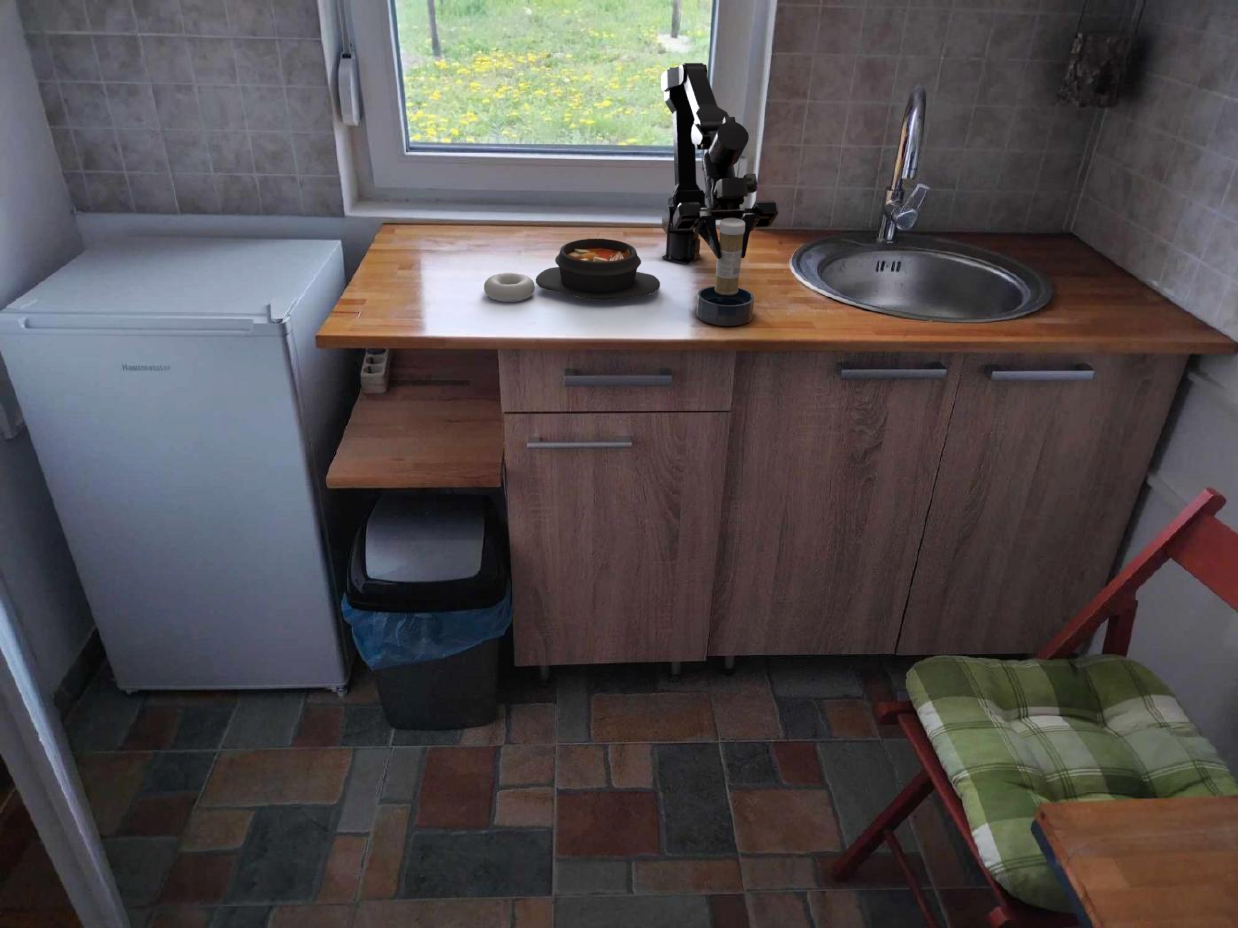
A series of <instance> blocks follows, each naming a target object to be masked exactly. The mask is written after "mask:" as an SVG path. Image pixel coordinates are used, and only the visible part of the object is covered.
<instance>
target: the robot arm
mask: <svg viewBox="0 0 1238 928" xmlns="http://www.w3.org/2000/svg"><path fill="white" fill-rule="evenodd" d="M712 88H713V87H712V86H711V83H710V80H709V76H708V65H707V64H705V63H703V62H684V63H683V64H680V65H678V66H675V67H667V69H666V70H665V71H663V72H662V74H661V77H660V89H661V92H663V101H664V103H665V105H666V107H667V109H669V111H670V113H671V115H672V137H673V167H674V187H673V189H672V191H671V193H670V194H669V196H668V198H667V206H666V207H665V209H664V212H663V215H662V217H661V228H662V230H663V231H664V233H665V234H666V245H665V254H664V255H662V256H661V259H662V260H665V261H670V262H674V263H678V264H679V263H680V264H684V265H690V264H691V263H693V262H694V261H696V260H698V259H700V258H701V254H700V249H701V239H702V240H703V241H704V242H705V243H706V244H707V246H708V247H709V249H710V250H711V252H712V253H713V254H714V256H715V257H716V260H717V259H720V258H721V249H720V244H719V236H718V231H717V221H721V220H723V219H726V218H736V219H740V220H743V221H744V222H745V232H744V235H743V242H742V257H741V259H745V257H746V255H747V248H748V244H749V240H750V239H749V238H750V234H751V232H753V231H754V229H757V228H758V229H760V228H763V229H764V228H769V227H771V226H772V224H773V223H774V221H775V220H776V218H777V216H778V215H779V213H780V212H779V205H778V204H777V202H776V201H774V199H772V200H768V199H767V200H755V201H754V203H753V204H752V206H751V207H747V208H741V205H744V203H745V197H746V198H747V197H749V194H753V193H756V192H757V191H758V179H757V174H756V173H746V174H744V175H743V176H742V177H738V176H736V171H735V165H736V164H737V163H738V162H739V160H740V159H741V157H742V153H743V152H744V150H745V148H746V147H747V144H748V143H749V140H750V139H749V137H750V136H749V132H748V131H747V129H746V128H745V127H744V125H742V124H741V123H739V122H736V117H735V116H730V115H729V113H728V112H727V111H726V110H724V109H722V108H721V107H719V106H718V103H717V100H716V97H715V94H714V92H713V89H712ZM697 150H698V151H706V152H705V153H704V154H703V156H702V158H701V170H702V171H703V172H702V173H703V179H704V186H705V191H704V190H703V189H701V188H700V186H699V185H698V183H697V182H698V181H697V155H696V153H697V152H696V151H697ZM706 199H707V200H706ZM706 201H707V204H706ZM699 236H700V237H701V239H700V237H699Z"/></svg>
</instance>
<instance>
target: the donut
mask: <svg viewBox="0 0 1238 928" xmlns="http://www.w3.org/2000/svg"><path fill="white" fill-rule="evenodd" d="M483 290H484V293H485V295H487V297H488V298H490V299H492V300H494V301H497V302H502V303H515V302H521V301H525V300H527V299H529V298H531V296H533V294H534V292H535V290H536V285H535V281H534V280H533V279H532V278H531V277H529V276H528V275H526V274H523V273H519V272H500V273H496V274H493V275H491V276H489V277H488V278H487V279H486V280H485V282H484V283H483Z"/></svg>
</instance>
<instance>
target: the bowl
mask: <svg viewBox="0 0 1238 928" xmlns="http://www.w3.org/2000/svg"><path fill="white" fill-rule="evenodd" d="M714 288H715V285H710V286H707V287H706V286H705V287H702V288H701V289H700V290H698V292H697V295H696V296H697V297H696V309H695V314H696V315H695V316H696V317H697V318H698V319H700V321H702V322H705V323H707V324H710V325H715V326H721V327H735V326H736V327H737V326H742V325H745V324H748V323H749V322H751V320H752V319H753V317H754V315H753V314H754V306H755V295H754V293H752V292H751V291H749V289H748V290H747V289H746V288H742V287H739V286H738V292H737V293H736V294H734V295H722V294H719V293H717V292H716V291H715V289H714Z"/></svg>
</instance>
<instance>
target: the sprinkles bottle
mask: <svg viewBox="0 0 1238 928" xmlns="http://www.w3.org/2000/svg"><path fill="white" fill-rule="evenodd" d="M718 228H719V230H718V231H719V238H718V240H719V244H720V249H721V258H720V259H717V258H716V269H715V284H714V286H715V288H714V289H715V291H716V292H717V293H719V294H722V295H734V294H736V293H737V292H738V287H739V283H740V282H739V281H740V276H741V265H742V258H741V257H742V242H743V235H744V232H745V222H744V221H743V220H740V219H736V218H726V219H723V220H719V227H718Z"/></svg>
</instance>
